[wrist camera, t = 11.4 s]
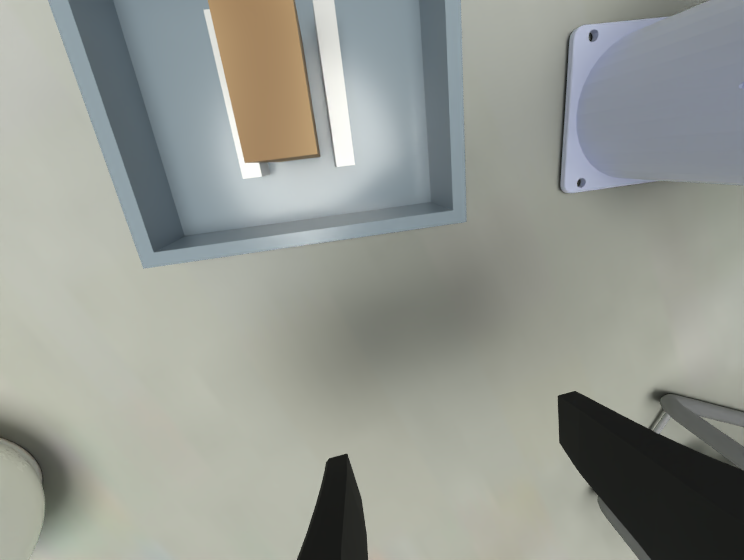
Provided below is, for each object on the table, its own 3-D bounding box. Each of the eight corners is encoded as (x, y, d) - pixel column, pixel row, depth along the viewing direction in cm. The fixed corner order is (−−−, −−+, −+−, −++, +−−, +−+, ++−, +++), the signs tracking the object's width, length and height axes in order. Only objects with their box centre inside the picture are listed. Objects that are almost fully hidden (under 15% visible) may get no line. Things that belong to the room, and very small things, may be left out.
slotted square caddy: (424, -62, 15) (457, -133, 12) (439, 210, 19) (466, 222, 16) (92, -38, 14) (9, -108, 11) (180, 246, 18) (143, 268, 15)
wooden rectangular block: (301, 38, 16) (280, -76, 8) (320, 157, 17) (317, 153, 10) (256, 43, 15) (191, -70, 8) (279, 161, 17) (244, 163, 10)
